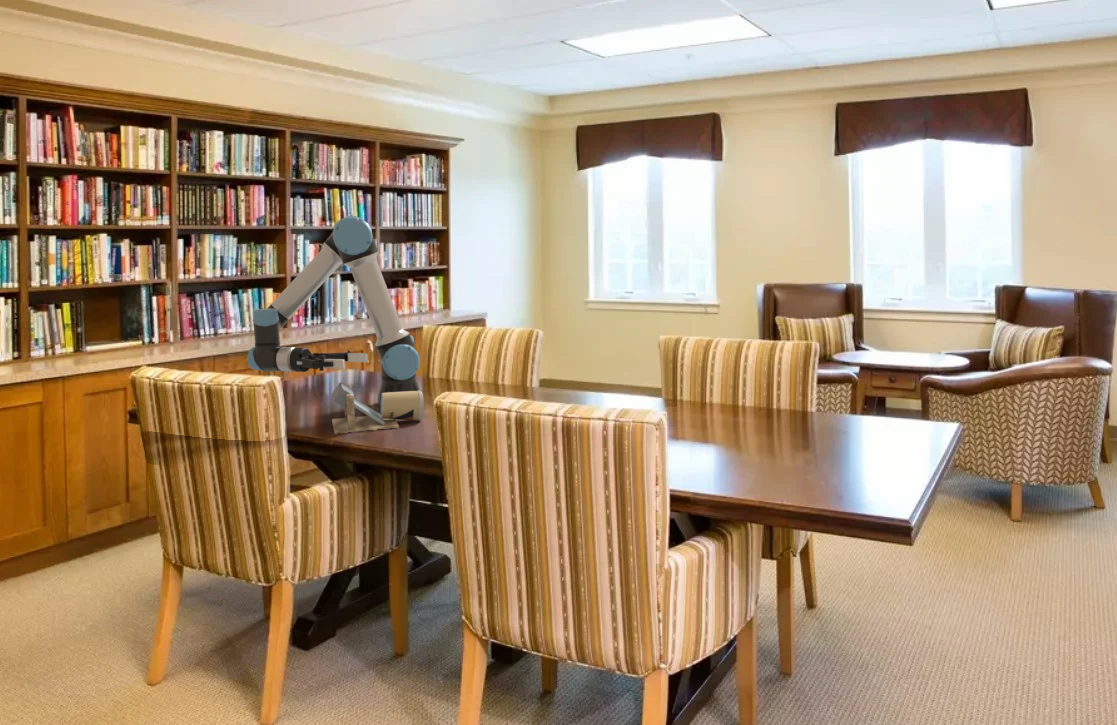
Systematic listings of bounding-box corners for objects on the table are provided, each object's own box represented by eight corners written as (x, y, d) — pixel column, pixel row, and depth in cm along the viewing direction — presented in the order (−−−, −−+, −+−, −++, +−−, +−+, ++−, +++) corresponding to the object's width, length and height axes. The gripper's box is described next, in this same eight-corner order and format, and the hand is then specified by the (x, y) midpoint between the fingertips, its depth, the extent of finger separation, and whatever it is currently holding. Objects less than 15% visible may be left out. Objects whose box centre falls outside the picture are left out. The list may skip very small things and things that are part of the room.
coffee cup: (383, 417, 271) (423, 417, 274) (382, 386, 274) (423, 387, 277) (380, 423, 280) (419, 423, 283) (380, 394, 282) (419, 394, 285)
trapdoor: (375, 421, 284) (383, 409, 285) (379, 430, 271) (388, 418, 271) (332, 393, 280) (340, 381, 280) (334, 401, 266) (342, 388, 267)
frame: (392, 416, 288) (390, 382, 287) (398, 428, 270) (396, 391, 269) (332, 421, 283) (329, 386, 282) (334, 433, 265) (332, 396, 264)
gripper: (318, 365, 295) (376, 367, 289) (271, 377, 272) (334, 379, 265) (316, 342, 294) (375, 343, 288) (270, 352, 271) (332, 354, 264)
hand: (355, 360), depth 276 cm, fingers open, 13 cm apart
